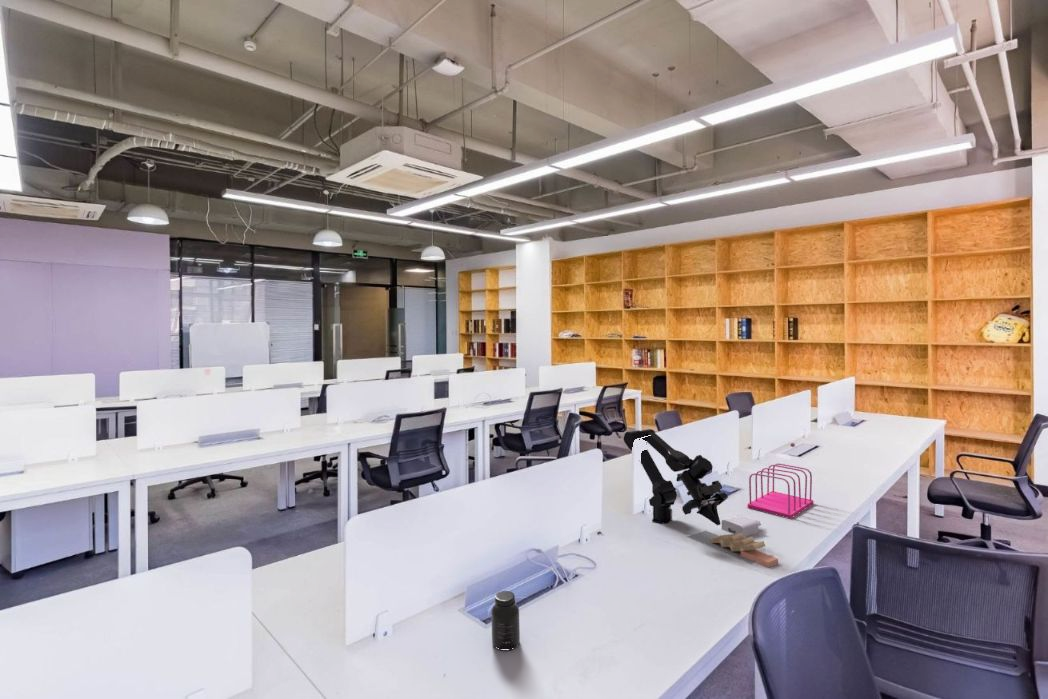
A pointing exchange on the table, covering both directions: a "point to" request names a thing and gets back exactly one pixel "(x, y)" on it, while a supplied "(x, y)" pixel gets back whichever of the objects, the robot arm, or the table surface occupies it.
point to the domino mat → (717, 545)
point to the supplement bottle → (505, 621)
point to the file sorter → (780, 495)
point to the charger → (741, 525)
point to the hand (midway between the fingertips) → (719, 524)
